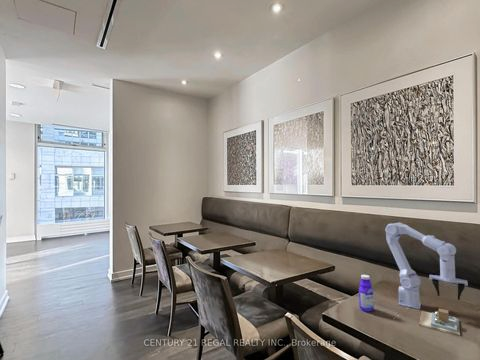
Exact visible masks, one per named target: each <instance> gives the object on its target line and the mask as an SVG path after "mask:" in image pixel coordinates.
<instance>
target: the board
mask: <svg viewBox="0 0 480 360" xmlns="http://www.w3.org/2000/svg"><path fill="white" fill-rule="evenodd" d="M431 317H432V312H429V311H424V310H421V314H420V317H419V323H418V324H419V325H418V326H420V327H424V328H428V329H431V330H435V331H439V332H440V331H441V332H442V333H443V332H444V333H448V334H451V335H455V336H461V331H460V319H459V318H456V322H457V332H454V331H450V330H446V329H443V328H439V327H435V326H431ZM449 320H451V321H454V320H452V319H449ZM443 326H446V327H450V328H454V329H455V327H452V326H448V325H444V324H443Z"/></svg>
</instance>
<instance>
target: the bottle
mask: <svg viewBox="0 0 480 360" xmlns="http://www.w3.org/2000/svg"><path fill="white" fill-rule="evenodd" d="M360 277H361V278H360V282H359V289H358V298H359V299H358V300H359V301H358V302H359V303H358V304H359V305H358V306H359V309H360V310H361V311H364V312H371V311H373V310H374V304H375V303H374V302H375V301H374V289H373V287H372V282H371V276H370V275H368V274H361V275H360Z"/></svg>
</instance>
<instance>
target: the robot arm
mask: <svg viewBox="0 0 480 360" xmlns="http://www.w3.org/2000/svg"><path fill="white" fill-rule="evenodd" d="M384 231H385V238H386V242H387V245H388V247H389V250H390V251H391V253H392V256H393V258H394V260H395V262H396V265H397V267H398V269H399V274H398V275H399V279H400V280H399V281H400V284H401V285H399V286H398V305H399V306H404V307H409V308H413V309H416V310H420V309H421V305H422V304H421V302H420V285H421V284H422V279H421V277H420V276H419V275H418V274H417V273H416V271H415V270H413V269H412V267H411V266H410V264H409V261H408V259H407V257H406V255H405V253H404V250H403V248H402V246H401V244H400V242H399V240H400V237H401V236H402V235H408V236H409V237H411V238H413V239H416V240H418V241H420V242H422V244H423V245H424V246H425V247H427V248H429V249H431V250H433V251H435V252H437V254H438V255H439V270H440V272H439V275H436V274H435V275H433V274H429V278H428V279H429V280H430V281H432V285H433V286H434V288H435V290H436V295H437V297H440V295H441V293H440V284H439V282H444V283H445V282H446V283H450V284H451V283H452V284H457V300H458V301H460V300H461V295H462V293H463V291H464V290H465V286H468V284H469V283H468V280H466V279H461V278H456V265H455V264H456V263H455V262H456V261H455V255H456V253H457V248H456V247H455V245H454V244H452V243H450V242H447V243H446V241H444V240H440V239H438V238H436V237H435V235H430V234H429V235H425V234H423V233H421V232H419V231H417V230H416V229H415V228H412V227H410V226H409V225H407V224H404V223H403V222H395V223H388V224H387V225H386V227H385V229H384Z"/></svg>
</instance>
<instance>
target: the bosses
mask: <svg viewBox="0 0 480 360" xmlns="http://www.w3.org/2000/svg"><path fill="white" fill-rule="evenodd" d="M434 313H435V314H436V315H437V317H439V314H438V310H435V311H434ZM434 320H435V321H436V323H438V324H440V322H442V319H440V318H436V317H435V318H434Z"/></svg>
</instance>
